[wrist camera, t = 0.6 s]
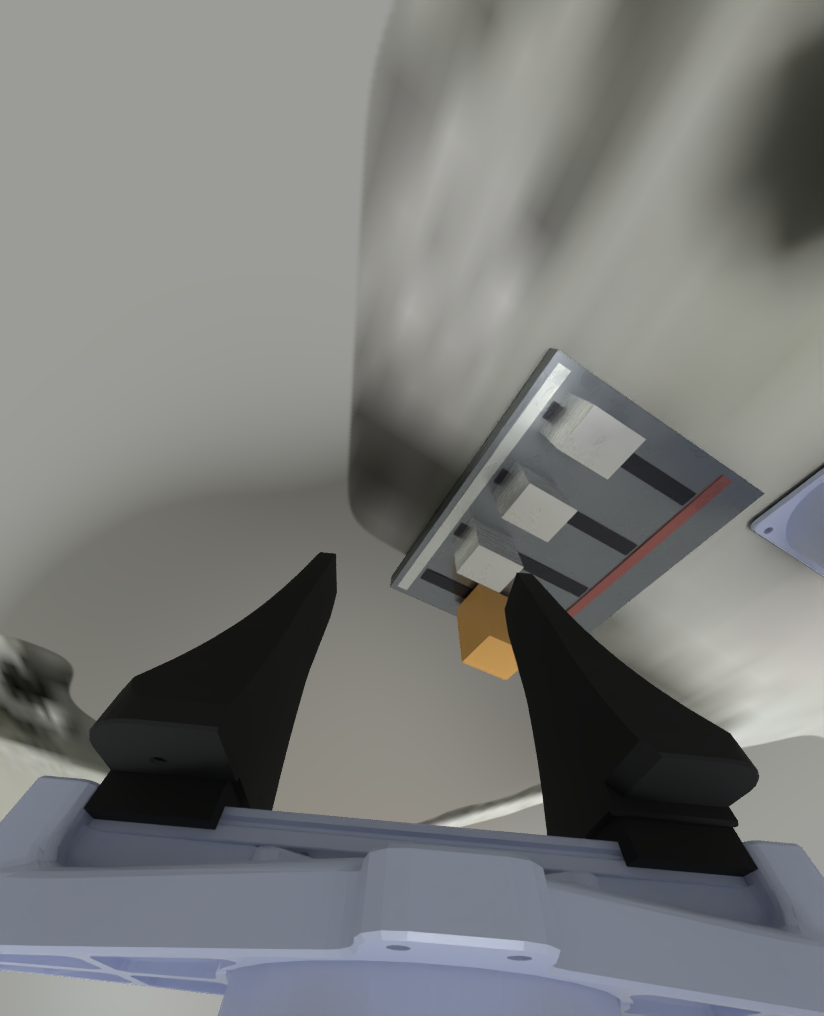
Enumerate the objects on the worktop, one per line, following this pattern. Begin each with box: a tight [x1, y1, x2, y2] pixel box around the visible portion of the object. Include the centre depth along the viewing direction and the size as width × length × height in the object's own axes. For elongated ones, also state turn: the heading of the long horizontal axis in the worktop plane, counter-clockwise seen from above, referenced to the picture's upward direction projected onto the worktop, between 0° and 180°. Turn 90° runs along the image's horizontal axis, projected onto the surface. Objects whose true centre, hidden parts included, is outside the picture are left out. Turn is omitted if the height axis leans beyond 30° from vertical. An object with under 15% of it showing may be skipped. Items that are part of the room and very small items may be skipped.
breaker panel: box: [390, 348, 765, 633], centre depth 21 cm, size 16×18×4 cm
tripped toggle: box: [456, 584, 518, 680], centre depth 22 cm, size 4×3×4 cm
